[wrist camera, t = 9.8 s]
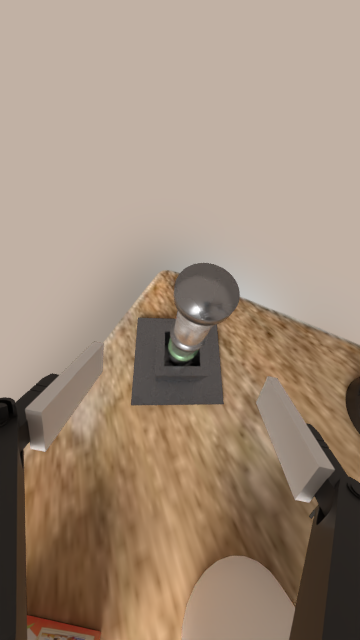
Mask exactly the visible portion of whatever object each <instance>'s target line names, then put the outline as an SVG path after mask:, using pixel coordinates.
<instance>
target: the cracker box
mask: <svg viewBox="0 0 360 640" xmlns="http://www.w3.org/2000/svg"><path fill="white" fill-rule="evenodd" d="M100 635H101V632H100V631H96V630H91V629H87V628H82V627H78V626H73V625H69V624H65V623H60V622H56V621H51V620H47V619H42V618H38V617H34V616H29V615H27V640H100Z"/></svg>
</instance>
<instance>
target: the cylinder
mask: <svg viewBox="0 0 360 640" xmlns="http://www.w3.org/2000/svg"><path fill="white" fill-rule="evenodd" d="M294 612H295V606H294V605H293V603H292V602H291V600H290V599H289V597H288V596H287V594H286V593H285V591H284V589H283V588H282V586H281V585H280V584H279V582H278V581H277V580H276V578H275V577H274V576H273V574H272V573H271V572H270V571H269V570H268V569H267V568H265V567H264V566H263V565H262V564H260V563H259V562H258V561H256V560H253V559H251V558H248V557H246V556H229V557H226V558H223V559H220V560H218V561H216V562H215V563H214V564H213V565H211V566H210V567H209V568H208V569H206V570H205V572H204V573H203V574H202V576H201V577H200V579H199V580H198V581H197V583H196V584H195V586H194V588H193V591H192V593H191V595H190V598H189V600H188V603H187V606H186V610H185V615H184V620H183V625H182V640H289V637H290V632H291V627H292V622H293V617H294Z"/></svg>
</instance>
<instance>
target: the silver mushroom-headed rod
mask: <svg viewBox="0 0 360 640" xmlns="http://www.w3.org/2000/svg"><path fill="white" fill-rule="evenodd" d="M239 296H240V295H239V288H238V285H237V283H236V281H235V279H234V278H233V277H232V275H231V274H230V273H229V272H227V271H226V270H225V269H223V268H221V267H219V266H216V265H214V264H209V263H198V264H194V265H191V266H189V267H187V268H185V269H184V270H183V271H182V272H181V273H180V274H179V276H178V277H177V279H176V282H175V288H174V302H175V305H176V308H177V309H178V312H177V317H176V319H175V320H174V322H173V323H172V325H171V329H170V340H169V343H168V356H169V358H170V360H171V361H172V362H174V363H175V364H178V365H185V364H187V363H189V362H190V361H191V360H192V359H193V358H194V356H195V355H196V354H197V352H198V350H199V349H200V348H201V347H202V346H203V345H204V344H205V343H206V341H207V339H208V332H209V331H210V330H211V328H212V327H213V325H216V324H219V323H221V322H223V321H225V320H226V319H227V318H228V317H229V316H230V314H231V313H232V312H233V311H234V310H235V308H236V307H237V305H238V302H239Z"/></svg>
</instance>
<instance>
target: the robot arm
mask: <svg viewBox="0 0 360 640" xmlns="http://www.w3.org/2000/svg"><path fill="white" fill-rule="evenodd" d="M103 349H104V343H100V342H95V341H94V342H93V343H92V344H91V345H90V346H89V347H88V348H87V349H86V350H85V351H84V352H83V353H82V354H81V355H80V356H79V357H78V358H76V360H75V361H74V362H72V363H71V364H70V365H69V366H68V367H67V368H66V370H64V371H63V372H62V373H61V374H60V375H57V374H50V375H48V376H46V377H44V378H42V379H41V380H40V381H39V382H38V383H37V384H36V385H35V386H34V387H33V388H31V389H30V391H28V392H27V393H26V394H25V395H23V396H22V397H21V398H20V399H19V400H18V401H17V402H16V403H15V401H14V400H13V399H11V398H0V640H27V596H26V543H25V489H24V450H23V449H24V448H25V446H26V445H27V444H28V443H29V442H30V447H31V449H34V450H40V451H45V452H46V450H47V449H48V448H49V446H50V445H51V443H52V442H53V441H54V439H55V438H56V436H57V435H58V433H59V432H60V431H61V429H62V428H63V426H64V425H65V424H66V422H67V421H68V419H69V418H70V417H71V415H72V414H73V412H74V411H75V410H76V408H77V407H78V405H79V404H80V403H81V401H82V400H83V398H84V397H85V395H86V394H87V393H88V391H89V390H90V388H91V387H92V386H93V384H94V383H95V381H96V380H97V379H98V377H99V376H100V374H101V373H102V369H103ZM256 404H257V406H258V409H259V411H260V414H261V416H262V419H263V421H264V424H265V426H266V429H267V431H268V434H269V436H270V439H271V441H272V444H273V446H274V449H275V451H276V454H277V456H278V459H279V461H280V464H281V466H282V469H283V471H284V474H285V476H286V479H287V481H288V484H289V486H290V489H291V491H292V494H293V496H294V499H295V500H298V501H303V502H310V501H311V500H312V498H313V497H314V496H315V498H316V500H317V502H318V506H317V507H316V508H315V509H314V510H313V512H312V513H311V514H310V516H309V517H310V518H311V519H312V517H313V516H314V519H313V524H312V529H311V534H310V539H309V544H308V549H307V554H306V559H305V563H304V568H303V573H302V578H301V583H300V588H299V593H298V598H297V603H296V607H295V612H294V617H293V622H292V627H291V632H290V637H289V640H360V483H359V482H358V481H356V480H355V479H353V478H351V477H348V476H347V474H346V473H345V471H344V470H343V468H342V467H341V465H340V464H339V462H338V461H337V459H336V458H335V456H334V455H333V453H332V452H331V450H330V449H329V447H328V446H327V444H326V443H325V442H324V440H323V438H322V437H321V435H320V434H319V432H318V431H317V430H316V429H315V428H314V427H313V426H312V425H311V424H307V423H305V421H304V420H303V418H302V417H301V415H300V413H299V412H298V410H297V409H296V407H295V405H294V404H293V402H292V401H291V399H290V398H289V396H288V394H287V393H286V391H285V390H284V388H283V386H282V385H281V383H280V382H279V380H278V379H277V378H274V377H269V376H268V377H267V379H266V381H265V384H264V386H263V388H262V390H261V392H260V395H259V397H258V399H257V401H256ZM346 404H347V410H348V413H349V416H350V419H351V421H352V423H353V425H354V426H355V428H356V429H357V431H358V432H359V434H360V377H359V378H357V379H355V380H354V381H353V382H352V383H351V384H350V386H349V388H348V391H347V396H346Z"/></svg>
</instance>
